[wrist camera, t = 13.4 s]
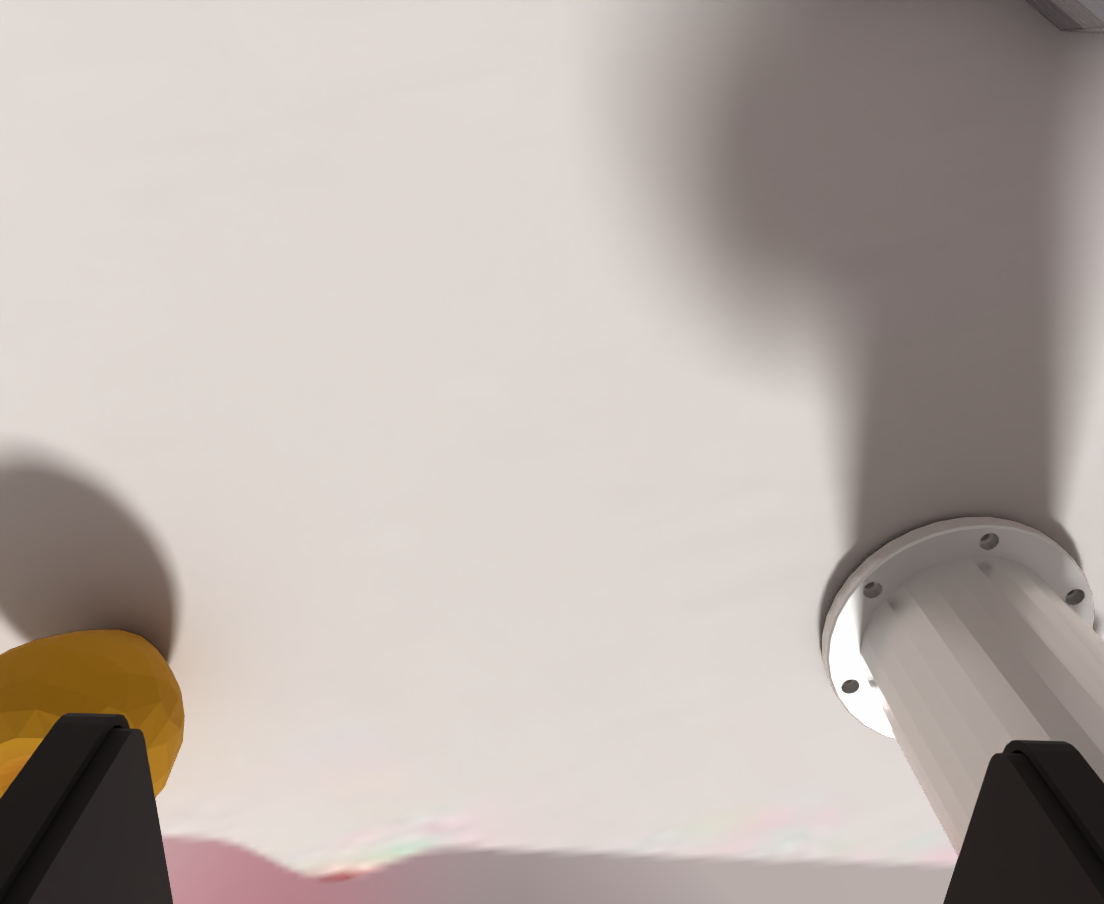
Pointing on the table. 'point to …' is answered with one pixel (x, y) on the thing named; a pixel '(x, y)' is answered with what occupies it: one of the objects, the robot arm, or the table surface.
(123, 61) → the table surface
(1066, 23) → the lower chain end
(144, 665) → the apple
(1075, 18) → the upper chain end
